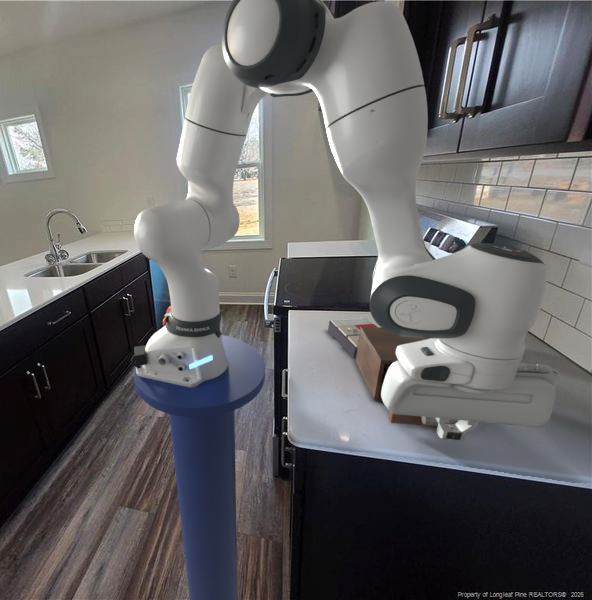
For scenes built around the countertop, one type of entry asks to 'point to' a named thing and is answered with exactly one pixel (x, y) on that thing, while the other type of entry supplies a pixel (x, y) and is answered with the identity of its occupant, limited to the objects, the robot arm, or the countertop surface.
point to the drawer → (409, 418)
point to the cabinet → (378, 355)
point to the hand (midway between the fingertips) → (449, 436)
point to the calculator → (348, 332)
